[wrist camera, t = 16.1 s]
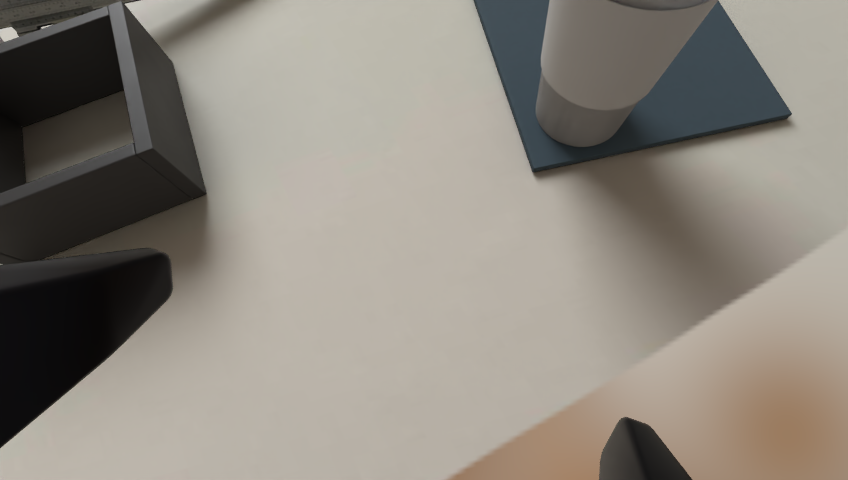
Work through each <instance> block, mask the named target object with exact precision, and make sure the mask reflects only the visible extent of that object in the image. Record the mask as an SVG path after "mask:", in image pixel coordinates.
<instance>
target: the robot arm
mask: <svg viewBox="0 0 848 480" xmlns="http://www.w3.org/2000/svg"><path fill="white" fill-rule="evenodd" d="M172 290H173V282H172V270H171V260H170V258H169V256H168V255H167V254H166V253H163V252H161V251H158V250H155V249H152V248H141V249H133V250H124V251H116V252H107V253H99V254H90V255H82V256H73V257H65V258H56V259H48V260H39V261H31V262H22V263H14V264H5V265H0V448H1V447H2V446H3V445H5V444H6V443H7V442H8V441H9V440H11V439H12V438H13V437H14V436H15V435H17V434H18V433H19V432H20V431H21V430H23V429H24V428H25V427H26V426H27V425H29V424H30V423H31V422H32V421H33V420H35V419H36V418H37V417H38V416H39V415H41V414H42V413H43V412H44V411H45V410H47V409H48V408H49V407H50V406H51V405H53V404H54V403H55V402H56V401H57V400H59V399H60V398H61V397H62V396H63V395H65V394H66V393H67V392H68V391H69V390H71V389H72V388H73V387H74V386H75V385H77V384H78V383H79V382H80V381H81V380H83V379H84V378H85V377H86V376H87V375H89V374H90V373H91V372H92V371H93V370H95V369H96V368H97V367H98V366H99V365H100V364H102V363H103V362H104V361H105V360H106V359H107V358H109V357H110V356H111V355H112V354H113V353H114V352H115V351H116V350H117V349H118V348H119V347H120V346H121V345H122V344H123V343H124V342H125V341H126V340H127V339H128V338H129V337H130V336H131V335H133V334H134V333H135V332H136V331H137V330H138V329H139V328H140V327H141V326H142V325H143V324H144V323H145V322H146V321H147V320H148V319H149V318H150V317H151V316H152V315H153V314H154V313H155V312H156V311H157V310H158V309H159V308H160V307H161V306H162V305H163V304H164V303H165V302H166V301H167V300H168V299H169V297H170V296H171V293H172ZM599 480H692V479H691V477H690V476H689V475H688V474H687V472H686V471H685V470H684V468H683V467H682V466H681V465H680V463H679V462H678V461H677V460H676V458H675V457H674V456H673V454H672V453H671V452H670V451H669V449H668V448H667V447H666V445H665V444H664V443H663V442H662V440H661V439H660V438H659V436H658V435H657V434H656V433H655V431H654V430H653V429H652V428H651V427H650V426H649V425H647V424H645V423H642V422H639V421H637V420H634V419H631V418H628V417H624V418H621V420H619V422H618V423H617V425H616V427H615V429H614V430H613V432H612V434H611V436H610V438H609V440H608V441H607V443H606V445H605V447H604V449H603V452H602V455H601V460H600V474H599Z"/></svg>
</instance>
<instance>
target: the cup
mask: <svg viewBox="0 0 848 480" xmlns="http://www.w3.org/2000/svg"><path fill="white" fill-rule="evenodd" d="M717 1H718V0H550V1H549V7H548V14H547V20H546V27H545V33H544V40H543V46H542V53H541V68H542V72H541V78H540V84H539V90H538V96H537V102H536V117H537V120H538V122H539V124H540V126H541V128H542V129H543V130H544V131H545V133H547V134H548V135H549V136H550V137H551V138H553V139H555V140H556V141H558V142H560V143H563V144H566V145H569V146H574V147H589V146H594V145H598V144H601V143H603V142H605V141H607V140H608V139H609V138H611V137H612V136H613V135H614V134H615V133H616V132H617V130H618V129H619V127H620V126H621V125H622V123H623V122H624V121H625V119H626V118H627V117H628V115H629V114H630V113H631V111H632V110H633V108H634V107H635V106H636V104H637V103H638V102H639V101H640V100H641V99H642V98H644V97H645V96H646V95H647V94H648V93H649V92H650V90H651V89H652V88H653V86H654V85H655V84H656V82H657V81H658V80H659V78H660V77H661V76H662V74H663V73H664V72H665V70H666V69H667V68H668V66H669V65H670V64H671V62H672V61H673V60H674V58H675V57H676V56H677V54H678V53H679V52H680V50H681V49H682V48H683V46H684V45H685V44H686V42H687V41H688V40H689V38H690V37H691V36H692V34H693V33H694V32H695V30H696V29H697V28H698V26H699V25H700V24H701V23H702V21H703V20H704V19H705V17H706V16H707V15H708V13H709V12H710V11H711V9H712V8H713V7H714V5H715V4H716V3H717Z"/></svg>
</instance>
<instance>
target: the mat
mask: <svg viewBox="0 0 848 480" xmlns="http://www.w3.org/2000/svg"><path fill="white" fill-rule="evenodd" d="M549 1H550V0H474V3H475V6H476V9H477V11H478V14H479V17H480V20H481V23H482V26H483V29H484V32H485V35H486V38H487V41H488V43H489V46H490V49H491V52H492V55H493V58H494V61H495V64H496V67H497V70H498V73H499V75H500V78H501V81H502V84H503V87H504V90H505V93H506V96H507V99H508V102H509V105H510V107H511V110H512V113H513V116H514V119H515V122H516V125H517V128H518V131H519V134H520V137H521V140H522V142H523V145H524V148H525V151H526V154H527V157H528V160H529V163H530V166H531V169H532V171H533V172H536V171H541V170H546V169H551V168H555V167H560V166H565V165H569V164H574V163H579V162H584V161H588V160H593V159H598V158H602V157H607V156H612V155H617V154H621V153H626V152H631V151H636V150H640V149H645V148H650V147H654V146H659V145H664V144H669V143H673V142H678V141H683V140H687V139H692V138H697V137H702V136H706V135H711V134H716V133H720V132H725V131H730V130H735V129H739V128H744V127H749V126H754V125H758V124H763V123H768V122H772V121H777V120H782V119H786V118H788V117H789V116H790V115H791V114H792V113H791V112H790V110H789V109H788V107H787V105H786V104H785V102H784V101H783V99H782V98H781V96H780V95H779V93H778V92H777V90H776V89H775V87H774V85H773V84H772V82H771V81H770V79H769V78H768V76H767V75H766V73H765V72H764V70H763V69H762V67H761V66H760V64H759V62H758V61H757V59H756V58H755V56H754V55H753V53H752V52H751V50H750V49H749V47H748V46H747V44H746V43H745V41H744V39H743V38H742V36H741V35H740V33H739V32H738V30H737V29H736V27H735V26H734V24H733V23H732V21H731V19H730V18H729V16H728V15H727V13H726V12H725V10H724V9H723V7H722V6H721V4H720V3H719V1H717V3H716V4H715V5H714V7H713V8H712V9H711V11H710V12H709V13H708V15H707V16H706V17H705V19H704V20H703V21H702V23H701V24H700V25H699V26H698V28H697V29H696V30H695V32H694V33H693V34H692V36H691V37H690V38H689V40H688V41H687V42H686V44H685V45H684V46H683V48H682V49H681V50H680V52H679V53H678V54H677V56H676V57H675V58H674V60H673V61H672V62H671V64H670V65H669V66H668V68H667V69H666V70H665V72H664V73H663V74H662V76H661V77H660V78H659V80H658V81H657V82H656V84H655V85H654V86H653V88H652V89H651V90H650V92H649V93H648V94H647V95H646V96H645V97H644V98H642V99H641V100H640V101H639V102H638V103H637V104H636V106H635V107H634V108H633V110H632V111H631V113H630V114H629V115H628V117H627V118H626V119H625V121H624V122H623V123H622V125H621V126H620V127H619V129H618V130H617V132H616V133H615V134H614V135H613V136H612V137H611V138H609V139H608V140H607V141H605V142H603V143H601V144H598V145H594V146H589V147H574V146H569V145H566V144H563V143H560V142H558V141H556V140H555V139H553V138H551V137H550V136H549V135H548V134H547V133H545V131H544V130H543V129H542V128H541V126H540V124H539V122H538V120H537V117H536V102H537V96H538V90H539V84H540V78H541V72H542V68H541V53H542V46H543V40H544V33H545V27H546V20H547V14H548V7H549Z"/></svg>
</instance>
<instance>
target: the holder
mask: <svg viewBox="0 0 848 480" xmlns="http://www.w3.org/2000/svg"><path fill="white" fill-rule="evenodd" d="M123 89H124V93H125V98H126V103H127V108H128V113H129V119H130V124H131V129H132V134H133V139H134V143H131V144H128V145H126V146H123V147H120V148H118V149H115V150H113V151H110V152H107V153H105V154H102V155H100V156H97V157H94V158H92V159H89V160H86V161H84V162H81V163H79V164H76V165H73V166H71V167H68V168H66V169H63V170H60V171H58V172H55V173H52V174H50V175H47V176H45V177H42V178H39V179H37V180H34V181H32V182H29V183H26V184H25V170H24V155H23V140H22V127H23V126H26V125H29V124H31V123H34V122H37V121H40V120H42V119H45V118H48V117H50V116H53V115H56V114H58V113H61V112H64V111H67V110H69V109H72V108H75V107H77V106H80V105H83V104H85V103H88V102H91V101H93V100H96V99H99V98H102V97H104V96H107V95H110V94H112V93H115V92H118V91H120V90H123ZM205 194H206V190H205V187H204V183H203V179H202V175H201V171H200V167H199V163H198V159H197V156H196V152H195V148H194V144H193V140H192V136H191V132H190V129H189V125H188V121H187V117H186V113H185V109H184V105H183V102H182V98H181V94H180V90H179V86H178V82H177V78H176V75H175V71H174V67H173V63H172V61H171V60H170V59H169V58H168V56H167V55H166V54H165V53H164V52H163V50H162V49H161V48H160V47H159V45H158V44H157V43H156V42H155V41H154V39H153V38H152V37H151V36H150V35H149V33H148V32H147V31H146V30H145V29H144V27H143V26H142V25H141V24H140V22H139V21H138V20H137V19H136V18H135V16H134V15H133V14H132V13H131V12H130V10H129V9H128V8H127V7H126V6H125V4H124V3H123V2H122V1H119V2H117V3H114V4H111V5H108V7H107V6H106V7H103V8H100V9H97V10H94V11H91V12H89V13H86V14H83V15H80V16H77V17H74V18H72V19H69V20H66V21H63V22H60V23H57V24H55V25H52V26H49V27H46V28H43V29H40V30H38V31H35V32H32V33H29V34H26V35H23V36H21V37H18V38H15V39H12V40H9V41H6V42H4V43H1V44H0V264H3V265H5V264H14V263H22V262H31V261H38V260H41V259H43V258H46V257H48V256H51V255H53V254H56V253H58V252H61V251H63V250H66V249H68V248H71V247H73V246H76V245H78V244H81V243H83V242H86V241H88V240H91V239H93V238H96V237H98V236H101V235H103V234H106V233H108V232H111V231H113V230H116V229H118V228H121V227H123V226H126V225H128V224H131V223H133V222H136V221H138V220H141V219H143V218H146V217H148V216H151V215H153V214H156V213H158V212H161V211H163V210H166V209H168V208H171V207H173V206H176V205H178V204H181V203H183V202H186V201H188V200H191V199H195V198H197V197H200V196H202V195H205Z"/></svg>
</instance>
